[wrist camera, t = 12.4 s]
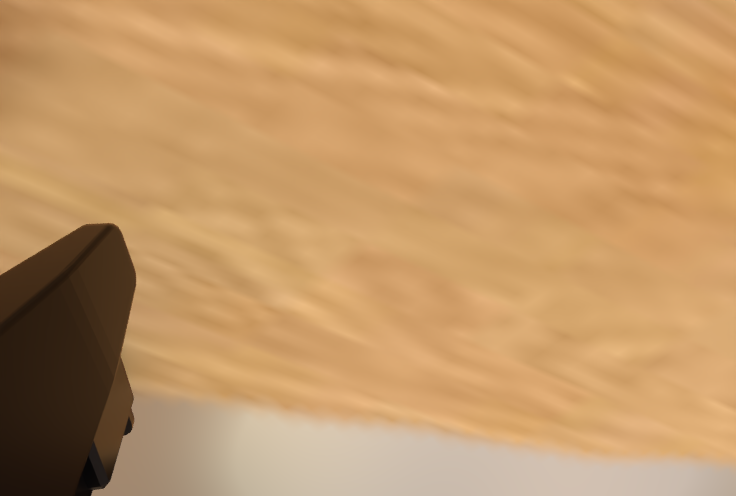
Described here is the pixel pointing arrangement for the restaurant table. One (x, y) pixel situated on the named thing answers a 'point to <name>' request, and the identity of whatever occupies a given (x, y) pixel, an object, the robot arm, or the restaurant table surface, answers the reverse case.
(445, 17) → the restaurant table surface
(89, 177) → the restaurant table surface
